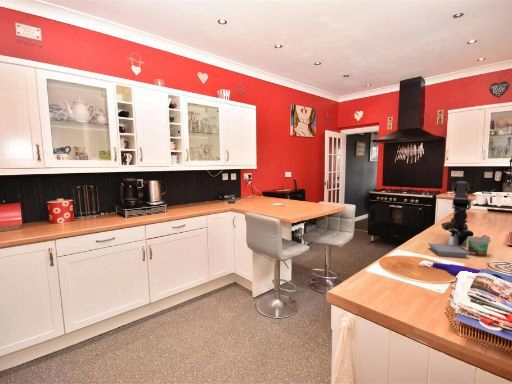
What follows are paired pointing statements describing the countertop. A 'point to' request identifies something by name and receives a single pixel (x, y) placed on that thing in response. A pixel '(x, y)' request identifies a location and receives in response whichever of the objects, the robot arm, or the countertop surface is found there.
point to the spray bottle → (449, 267)
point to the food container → (478, 245)
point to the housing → (456, 241)
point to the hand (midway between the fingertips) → (457, 244)
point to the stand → (448, 250)
